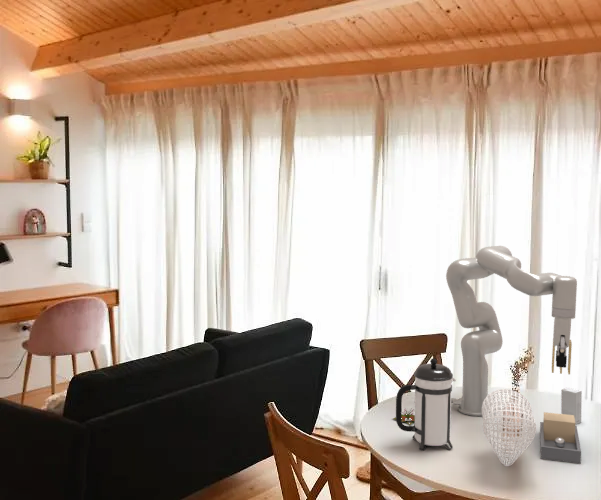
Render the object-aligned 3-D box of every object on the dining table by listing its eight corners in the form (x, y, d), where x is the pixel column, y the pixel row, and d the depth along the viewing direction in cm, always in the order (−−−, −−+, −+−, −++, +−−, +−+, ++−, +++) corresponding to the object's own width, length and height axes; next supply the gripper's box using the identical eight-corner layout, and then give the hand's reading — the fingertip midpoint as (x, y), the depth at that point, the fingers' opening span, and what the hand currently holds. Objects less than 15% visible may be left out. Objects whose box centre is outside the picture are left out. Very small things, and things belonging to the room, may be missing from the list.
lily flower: (385, 420, 256) (385, 408, 256) (405, 413, 264) (406, 401, 264) (410, 429, 247) (410, 416, 247) (430, 421, 255) (431, 409, 255)
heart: (480, 446, 230) (481, 382, 228) (527, 450, 226) (530, 385, 224) (482, 481, 203) (484, 409, 200) (537, 487, 199) (539, 413, 197)
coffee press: (424, 432, 243) (425, 350, 240) (462, 444, 232) (465, 358, 229) (394, 445, 231) (395, 359, 228) (433, 459, 219) (435, 368, 216)
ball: (554, 449, 226) (554, 440, 225) (554, 443, 229) (554, 434, 228) (565, 450, 225) (565, 442, 223) (564, 444, 228) (565, 435, 226)
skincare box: (581, 422, 253) (583, 390, 252) (575, 424, 250) (576, 392, 249) (566, 417, 258) (567, 386, 256) (559, 420, 255) (561, 389, 253)
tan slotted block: (551, 372, 231) (553, 342, 230) (551, 368, 236) (553, 338, 235) (570, 374, 229) (571, 343, 228) (569, 369, 234) (571, 339, 233)
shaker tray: (540, 458, 220) (541, 434, 219) (539, 432, 242) (540, 411, 241) (580, 463, 216) (581, 439, 215) (576, 436, 238) (577, 414, 238)
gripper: (551, 307, 240) (549, 357, 242) (551, 316, 223) (549, 370, 225) (574, 308, 237) (571, 359, 239) (576, 318, 221) (573, 372, 223)
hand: (560, 363), depth 232 cm, fingers closed on tan slotted block, 5 cm apart
